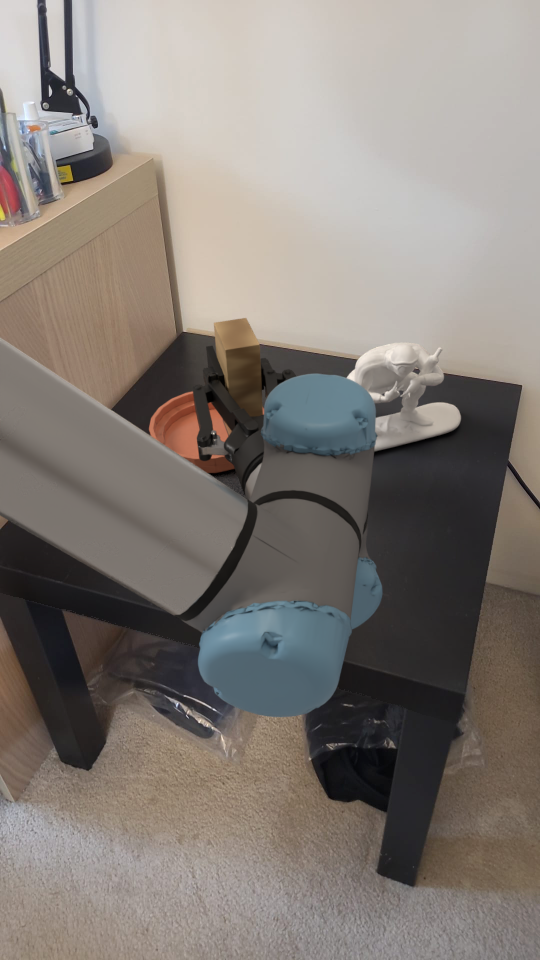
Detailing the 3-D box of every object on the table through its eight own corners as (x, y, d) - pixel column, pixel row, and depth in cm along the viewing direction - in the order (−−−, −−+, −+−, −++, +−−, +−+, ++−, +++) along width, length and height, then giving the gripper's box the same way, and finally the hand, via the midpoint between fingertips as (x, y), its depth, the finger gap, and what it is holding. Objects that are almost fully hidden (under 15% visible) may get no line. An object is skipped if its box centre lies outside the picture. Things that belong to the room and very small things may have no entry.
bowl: (145, 477, 90) (142, 460, 88) (159, 407, 102) (157, 390, 100) (268, 474, 90) (267, 456, 88) (267, 404, 102) (267, 387, 100)
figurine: (308, 492, 87) (309, 380, 76) (274, 435, 96) (271, 327, 85) (483, 447, 93) (508, 336, 82) (436, 397, 102) (452, 292, 91)
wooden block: (233, 451, 77) (225, 349, 69) (222, 421, 82) (213, 322, 73) (264, 445, 78) (259, 344, 69) (251, 415, 82) (246, 317, 74)
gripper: (196, 529, 63) (161, 392, 80) (368, 494, 66) (298, 369, 83) (187, 466, 58) (151, 335, 75) (373, 431, 61) (297, 313, 78)
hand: (228, 353), depth 79 cm, fingers closed on wooden block, 4 cm apart
